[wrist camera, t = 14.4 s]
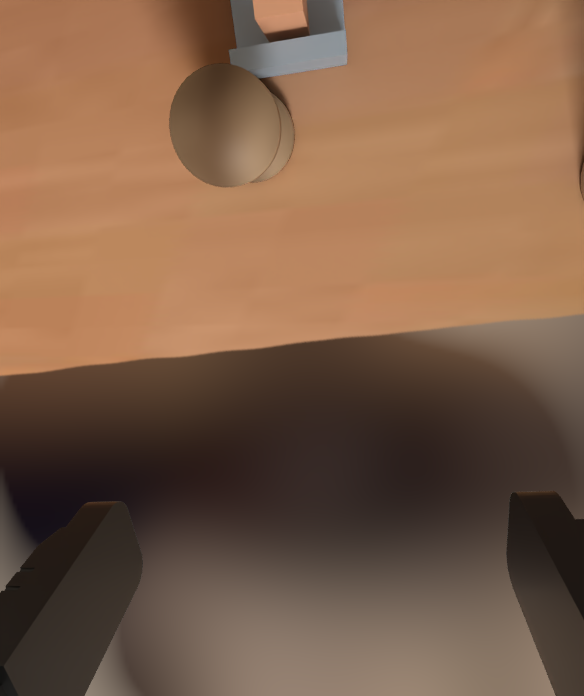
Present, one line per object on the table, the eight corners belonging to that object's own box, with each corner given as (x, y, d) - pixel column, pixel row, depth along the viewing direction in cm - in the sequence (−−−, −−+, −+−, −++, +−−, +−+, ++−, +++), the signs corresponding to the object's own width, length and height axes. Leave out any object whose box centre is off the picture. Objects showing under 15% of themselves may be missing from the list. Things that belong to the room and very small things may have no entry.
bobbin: (289, 81, 36) (271, 54, 27) (299, 176, 38) (285, 180, 29) (202, 94, 37) (158, 73, 28) (218, 187, 39) (181, 193, 30)
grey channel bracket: (337, -70, 32) (336, -104, 28) (346, 67, 35) (347, 54, 31) (226, -47, 33) (210, -77, 29) (244, 83, 36) (231, 72, 32)
